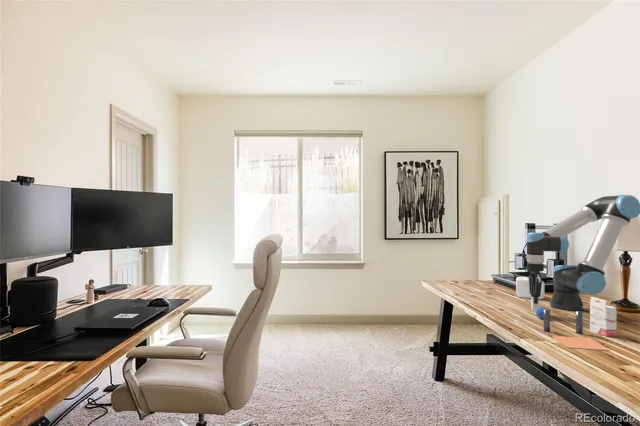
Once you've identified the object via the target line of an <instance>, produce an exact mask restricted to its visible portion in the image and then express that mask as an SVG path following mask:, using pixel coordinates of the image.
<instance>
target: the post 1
mask: <svg viewBox="0 0 640 426" xmlns="http://www.w3.org/2000/svg"><path fill="white" fill-rule="evenodd" d="M543 332H545V333H550V332H551V310H550V309H548V308H546V309H544V319H543Z"/></svg>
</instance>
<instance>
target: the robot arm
mask: <svg viewBox="0 0 640 426" xmlns="http://www.w3.org/2000/svg"><path fill="white" fill-rule="evenodd" d="M639 216H640V201H639V199H638V198H637V197H636V196H633V195H632V194H631V195H630V194H620V195H607V196H602V197H599V198H597V199H595V200H593V201H591V202H589V203H587V204H586V205H583V206H582V207H581V208H580V210H579V211H577V212H575V213H574V214H572V215H570V216H569V217H567V218H565V219H563V220H562V221H560V222H558V223H556V224H555V225H553V226H551V227H549V228H548V229H546V230H544V231H542V232H533V231H532V232H531V231H530V232H528V233H527V235H526V256H525V258H526V270H527V271H530V272H529V274H527V277H528V279H529V290H530V294H531V298H530V300H531V301H530V302H531V304H530V305H531V308H530V309H531V310H532V311H536V310H537V308H539V299H538V297H540V295H541V285H542V281H543V278H542V276H541V272H544V270H545V269H544V267H545V264H544V263H545V252H558V253H562V252H563V253H564V252H566V251H568V250H569V248H570V242H569V240H568V238H567V236H568V235H570V234H571V233H573V232H575V231H577V230H579V229H581V228H582V227H584V226H586V225H587V224H589V223H595V222H597V221H599V220H602V222H601V223H600V227H599V228H598V231H597V233H596V235H595V236H594V239H593V241H592V243H591V245H590V247H589V249H588V251H587V254H586V255H585V258H584V259H583V261H581V262H578V264H574V265H570V264H569V265H567V264H566V265H563V264H560V265H559V264H558V265H555V266H554V267H553V294H552V296H551V299H550V301H549V306H550V307H552V308H554V309H558V310H565V311H574V312H576V311H581V312H582V311H583V310H585V309H584V304H583V300H582V297H581V294H583V295H598V294H600V293H602V292H603V291H604V290H605V289H606V286H607V281H606V277H605V274H606V271H605V270H604V268H605V266H606V264H607V261H608V259H609V257H610V256H611V253H612V251H613V248H615V247H614V246H615V244H616V243H617V240H618V238H619V236H620V234H621V232H622V231H623V228H624V227H625V226H628V225H629V224H630V222H631V220H632V219H634V218H637V217H639ZM543 282H544V281H543ZM580 293H581V294H580Z"/></svg>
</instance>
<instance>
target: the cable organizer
mask: <svg viewBox="0 0 640 426" xmlns="http://www.w3.org/2000/svg"><path fill="white" fill-rule="evenodd" d="M515 292H516V293H515V295H516V296H517V297H520V298H521V299H527V298H528V299H531V294H530V290H529V279H528V276H517V277H516V278H515ZM544 298H545V281H542V285H541V295H540V297H538V300H542V299H544Z"/></svg>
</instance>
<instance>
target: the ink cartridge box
mask: <svg viewBox="0 0 640 426" xmlns="http://www.w3.org/2000/svg"><path fill="white" fill-rule="evenodd" d="M617 329H618V327H617V307H615V306H610V305H607V300H605V299H602V298H598V297H593V296H591V297H590V303H589V331H590V332H592V333H595V334H599V335H601V336H603V337H617V336H618V335H617V333H618V332H617Z"/></svg>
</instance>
